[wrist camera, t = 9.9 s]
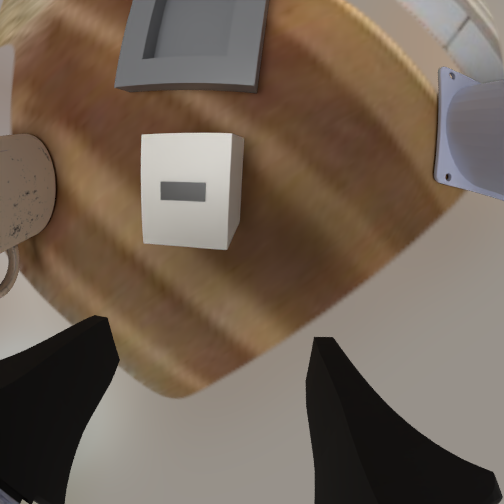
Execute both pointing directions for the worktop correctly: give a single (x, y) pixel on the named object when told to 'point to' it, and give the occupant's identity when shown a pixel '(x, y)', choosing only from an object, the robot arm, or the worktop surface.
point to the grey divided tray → (192, 45)
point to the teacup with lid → (23, 196)
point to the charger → (191, 188)
